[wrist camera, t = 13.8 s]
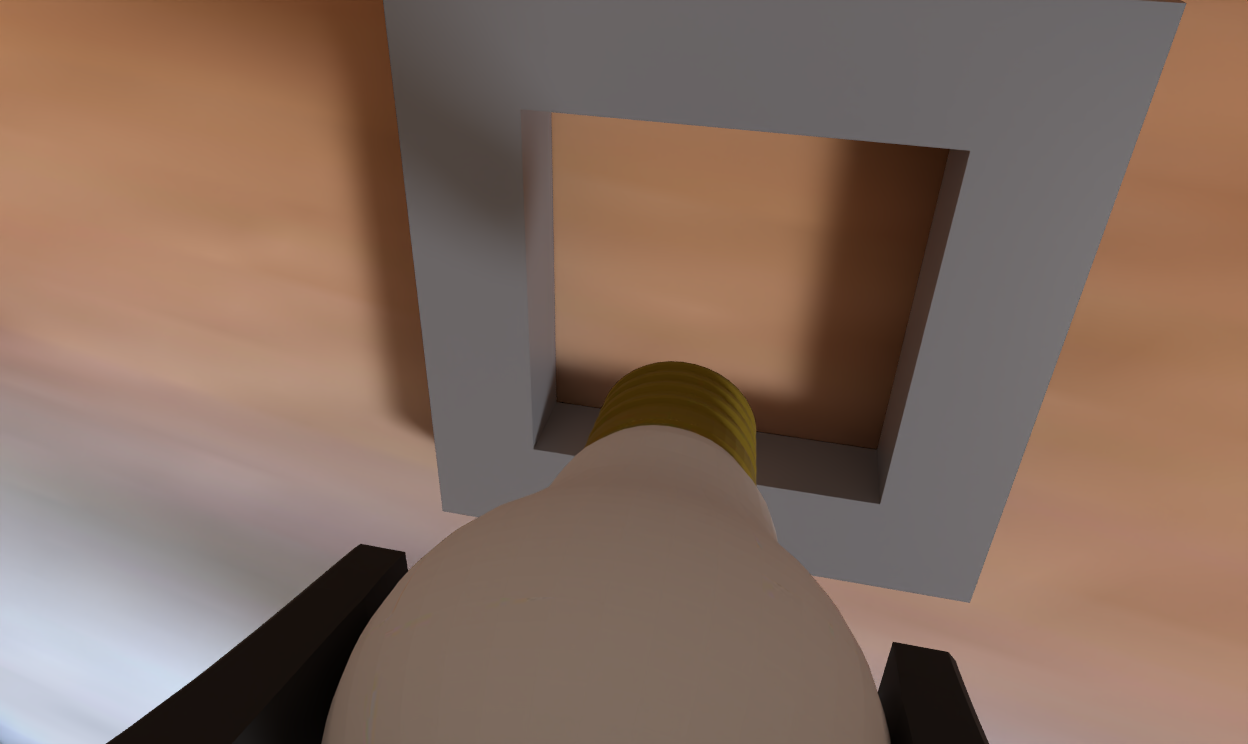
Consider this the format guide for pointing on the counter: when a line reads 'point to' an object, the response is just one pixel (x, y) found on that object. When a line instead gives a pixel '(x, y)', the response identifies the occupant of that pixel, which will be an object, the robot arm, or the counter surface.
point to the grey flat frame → (801, 105)
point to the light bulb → (618, 603)
